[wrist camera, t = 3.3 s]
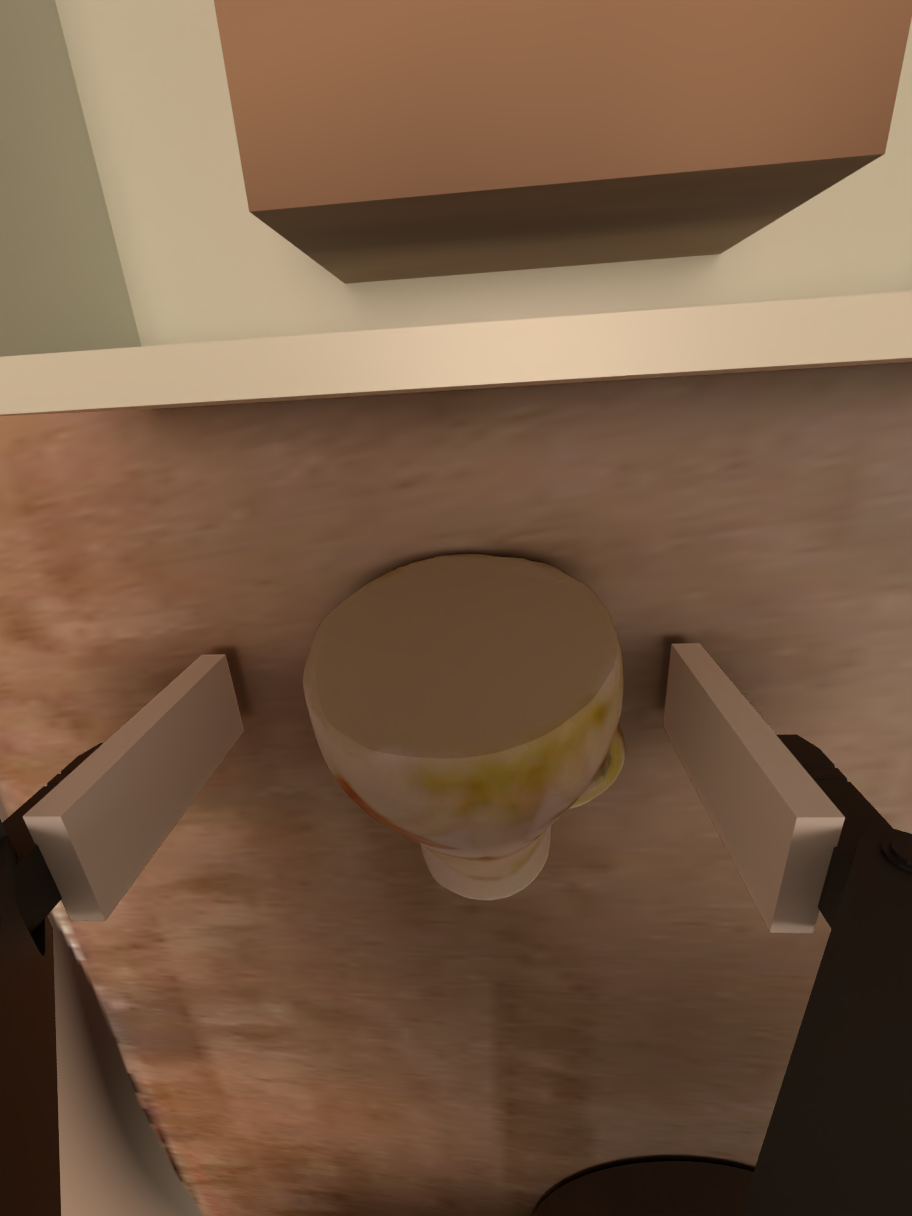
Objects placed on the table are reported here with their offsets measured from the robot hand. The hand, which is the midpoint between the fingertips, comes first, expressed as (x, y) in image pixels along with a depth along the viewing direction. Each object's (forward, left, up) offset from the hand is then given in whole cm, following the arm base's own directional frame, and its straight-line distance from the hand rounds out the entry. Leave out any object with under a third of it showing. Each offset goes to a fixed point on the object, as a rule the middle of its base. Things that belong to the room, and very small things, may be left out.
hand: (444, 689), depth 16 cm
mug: (-1, -1, -1) cm, 2 cm away
